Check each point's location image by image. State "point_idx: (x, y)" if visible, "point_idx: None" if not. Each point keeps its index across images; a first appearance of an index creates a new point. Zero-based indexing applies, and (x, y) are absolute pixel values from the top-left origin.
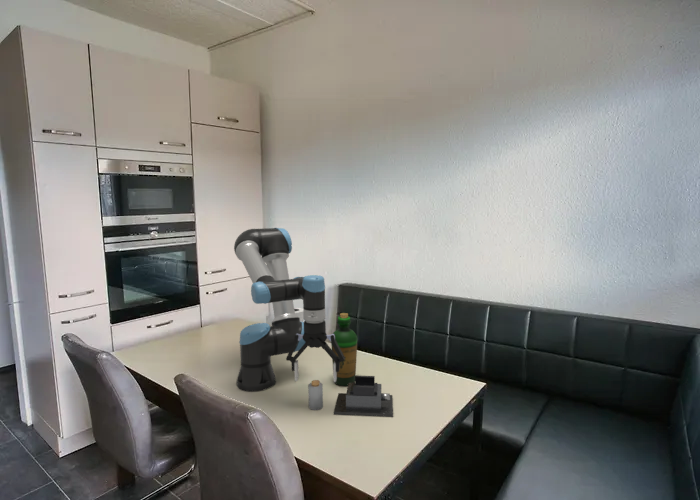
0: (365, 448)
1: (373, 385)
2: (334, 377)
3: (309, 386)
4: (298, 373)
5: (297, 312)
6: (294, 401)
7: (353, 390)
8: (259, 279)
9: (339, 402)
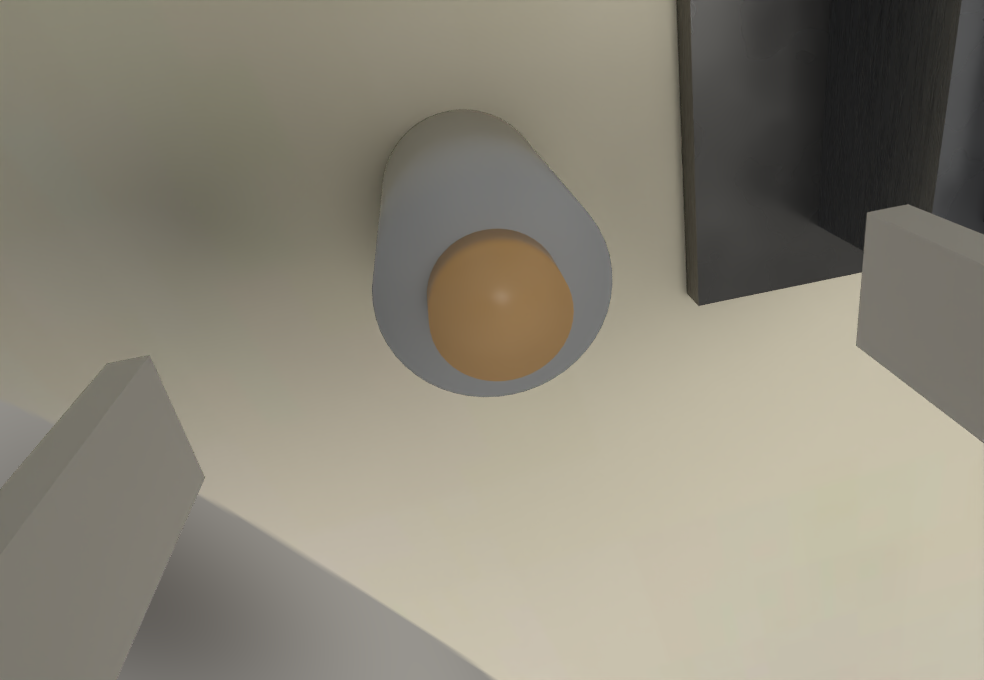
0: (938, 594)
1: None
2: (928, 383)
3: (419, 367)
4: (112, 410)
5: None
6: (153, 139)
7: None
8: None
9: (733, 89)
